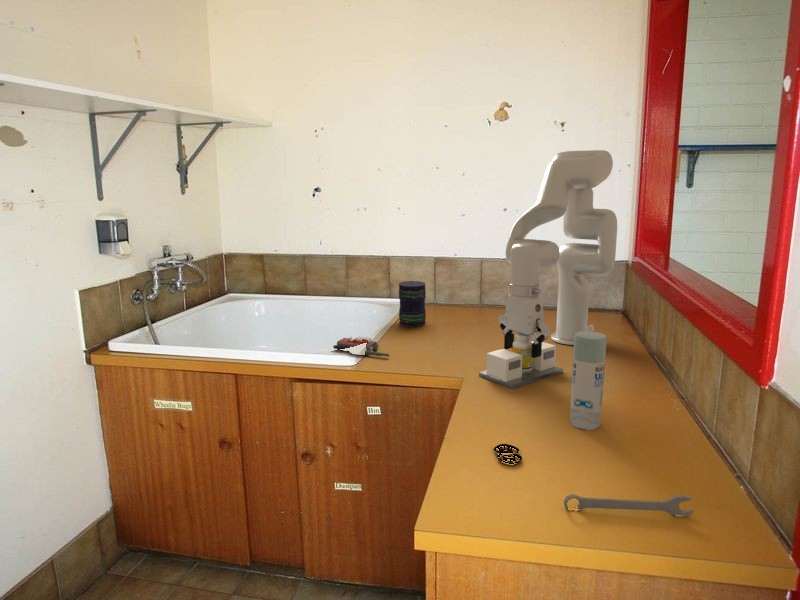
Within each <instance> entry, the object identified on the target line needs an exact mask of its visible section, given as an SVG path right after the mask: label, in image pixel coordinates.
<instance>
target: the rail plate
mask: <svg viewBox="0 0 800 600" xmlns="http://www.w3.org/2000/svg"><path fill="white" fill-rule="evenodd" d="M563 372H564V368H561V367H559V366H556V365H555V367H552V368H549V369H545V370H542V371H539V370H536V368H535V367H532V369H531V370H530V371H522V377H520V378H517V379H513V380H510V381H507V382H505V381H502V380H501V378H499V377H496V376H494V375H490V376H489V375H486V369H485V370H481V371H479V373H478V376H479V377H481V378H484V379H486V380H489V381H491V382H494V383H497V384H499V385H502V386H505V387H506V388H509V389H515V388H518V387H521V386H524V385H528V384H530V383H534V382H537V381H540V380H543V379H546V378H549V377H552V376H556V375H558V374H561V373H563Z"/></svg>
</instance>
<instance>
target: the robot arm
mask: <svg viewBox="0 0 800 600" xmlns="http://www.w3.org/2000/svg"><path fill="white" fill-rule="evenodd" d="M613 167H614V162H613V157H612V154H611V153H610V152H609V151H607V150H606V149H605V150H604V149H598V150H597V149H596V150H595V149H593V150H591V149H590V150H567V151H562V152H558V153H557V154H555V155H553V159H552V161H550V162H549V163H548V165H547V167H546V169H545V172H544V176H543V179H542V182H541V185H540V189H539V191H538V195H537V199H536V202H535V204H534V205H533V206H531V207H529V209H527V210H526V211H525V212H524V213H523V214H522V215H521V216H520V217H519V218H518V219H517V220H516V221H515V223H514V224H513V226H512V227H511V230H510V233H509V237H508V239H507V243H506V246H505V258H506V260H507V263H509V264H510V267H509V268H510V271H509V272H510V273H509V293H508V296H507V299H506V304H505V313H504V314H502V315H500V316H498V317H497V318H498V319H497V320H498V322H499V327H500V329H501V331H502V335H504V339H503V341H504V342H503V343H504V344H503V345H504V346H503V349H505V350H509V349H512V348H513V342H514V341H515V334H514V332H516V333H518V332H519V333H523V334H526V335H530V336H531V338H530V339H531V341H533V342H534V343H532V352H531V357H532V358H536V357H540V356H541V351H542V342H545V340H547V339H548V337H549V335H550V333H551V328H550V327H549V326H548V325H547V324H546V323H545V322H544V321H545V320H544V319H545V318H544V317H545V316H544V306H543V305H544V304H543V299H542V296H540V295H541V293H542V290H541V289H540V271H541V269H551V268H553V267H554V266H557V276H558V277H557V278H558V287H557V289H558V290H557V307H556V309H557V310H556V328H555V332H553V333H551V335H550V340H552V341H553V342H556V343H557V344H562V345H566V346H568V345H569V346H574V336H575V334H576V333H577V332H582V331H592V332H594V330H595V326H594V325H593V324H590V325H588V318H589V317H588V316H589V301H590V300H589V299H590V298H589V297H590V286H589V283H588V281H587V279H586V277H585V276H584V275H588V276H590V275H591V276H598V277H599V276H600V277H601V276H602V277H604V276H609V275H611V274H612V272H613V271H614V268H615V263H616V254H617V253H616V251H617V238H618V218H617V215H616V213H615V212H614V211H613V210H611V209H607V208H594V190H593V188H595V187H598V186H599V185H600V184H602V183H603V182H604V181H606V180H607V179H609V177H610V175H611V173H612V170H613ZM562 217H563V223H562V224H563V227H562V229H563V234H564V235H565V237H567V238H570V239H575V240H586V241H587V240H589V241H597V242H598V244H593V243H582V242H581V243H580V242H579V243H578V242H577V243H576V242H569V243H564V244H562V245H560V247H559V245H558V244H557V243H556V242H554V241H552V240H546V239H533V238H532V239H531V238H530V239H529V238H526V236H527V235H528V234H529V233H531V231H533V230H535V228H538V227H539V226H542V225H546V224H547V223H550V222H552V221H554V220H557V219H559V218H562ZM556 264H557V265H556Z"/></svg>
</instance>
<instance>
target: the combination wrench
mask: <svg viewBox="0 0 800 600" xmlns="http://www.w3.org/2000/svg"><path fill="white" fill-rule="evenodd" d="M571 499H573V500H574V499H575V500H577V501H578V504H577V506H578V508H577V509H581V510H585V509H607V510H608V509H609V510H629V511H630V510H636V511H658V512H660V511H661V512H665V513H667V514H670V515H672V516H673V515H681V516H682V515H683V516H687V517H689V516H690V515H692V514H694V512H695V510H694V509H684V510H683V509H680V505H681V503H685V502H688V501H691V500H692V497H690V496H687V495H682V494H675V495H673V496H671V497H670V498H669V499H667V500H662V501H659V500H656V501H655V500H640V499H639V500H636V499H619V498H613V499H612V498H599V497H584V496H578V495H577V494H574V493H573V494H568V495H566V496H565V498H564V499H563V506H564V508H565V509H568V502H569V501H571Z"/></svg>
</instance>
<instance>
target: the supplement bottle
mask: <svg viewBox="0 0 800 600" xmlns="http://www.w3.org/2000/svg"><path fill="white" fill-rule="evenodd" d="M531 339H532V338H531V336H530V335H526V334H523V333H519V332H516V333H515V334H514V342H513V348H511V350H512V351H511V352H514V353H517V354H520V355H522V371H530V370H531V369H532V360H533V358H532V357H531V352H532V342H531V341H532V340H531Z"/></svg>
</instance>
